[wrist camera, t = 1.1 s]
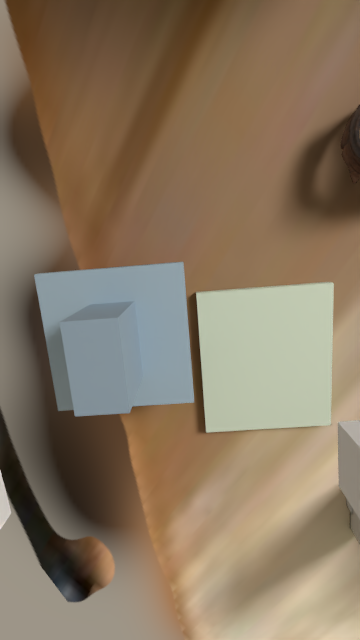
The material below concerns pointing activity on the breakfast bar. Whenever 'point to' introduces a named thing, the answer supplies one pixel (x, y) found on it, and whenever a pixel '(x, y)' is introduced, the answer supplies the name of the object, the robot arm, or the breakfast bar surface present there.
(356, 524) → the tall pale column
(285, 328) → the mat
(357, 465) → the robot arm
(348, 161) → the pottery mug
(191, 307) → the breakfast bar surface
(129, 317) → the lid
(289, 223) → the breakfast bar surface
